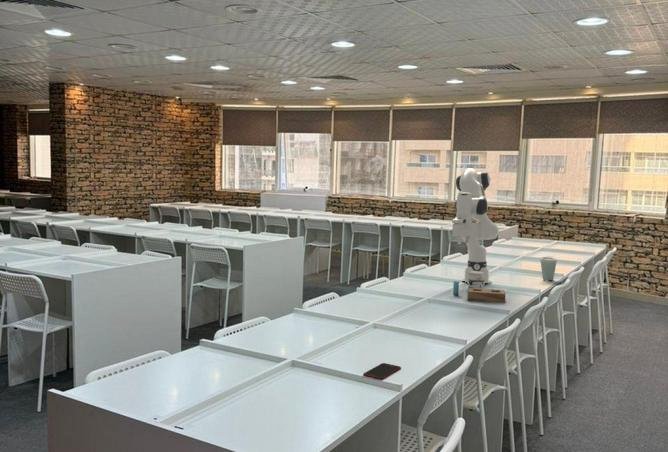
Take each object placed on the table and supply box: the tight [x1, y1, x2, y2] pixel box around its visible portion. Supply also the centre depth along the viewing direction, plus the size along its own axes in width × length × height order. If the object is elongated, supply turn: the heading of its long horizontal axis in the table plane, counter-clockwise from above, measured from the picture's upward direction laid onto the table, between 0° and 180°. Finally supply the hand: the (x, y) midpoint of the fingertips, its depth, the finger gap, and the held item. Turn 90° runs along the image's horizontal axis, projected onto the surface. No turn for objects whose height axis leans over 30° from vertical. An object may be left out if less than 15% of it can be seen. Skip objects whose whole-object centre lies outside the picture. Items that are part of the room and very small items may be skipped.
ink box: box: [467, 271, 485, 289], centre depth 341 cm, size 8×5×12 cm, turn 62°
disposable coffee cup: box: [540, 256, 558, 281], centre depth 380 cm, size 11×11×15 cm
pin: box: [452, 280, 460, 297], centre depth 330 cm, size 3×3×8 cm
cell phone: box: [363, 362, 402, 381], centre depth 200 cm, size 8×15×1 cm, turn 146°
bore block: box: [467, 287, 506, 304], centre depth 319 cm, size 12×20×5 cm, turn 75°
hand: (463, 243), depth 331 cm, fingers open, 8 cm apart
